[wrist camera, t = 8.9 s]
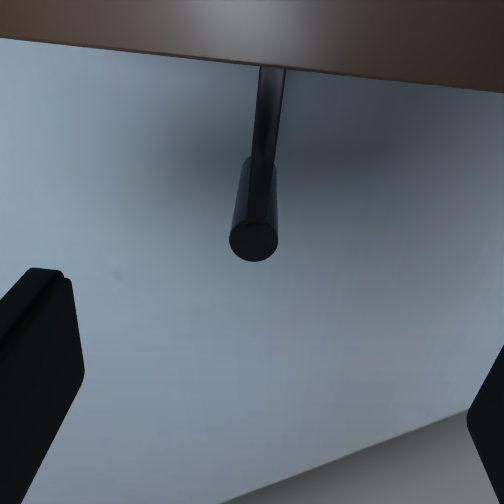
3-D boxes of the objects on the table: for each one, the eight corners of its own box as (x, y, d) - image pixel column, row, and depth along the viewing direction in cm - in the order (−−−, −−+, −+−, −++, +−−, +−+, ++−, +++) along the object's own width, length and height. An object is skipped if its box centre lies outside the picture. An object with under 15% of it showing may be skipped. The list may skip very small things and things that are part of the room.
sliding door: (311, 19, 18) (344, 38, 10) (288, 179, 21) (297, 291, 13) (136, 0, 18) (22, 2, 10) (142, 164, 21) (62, 267, 13)
